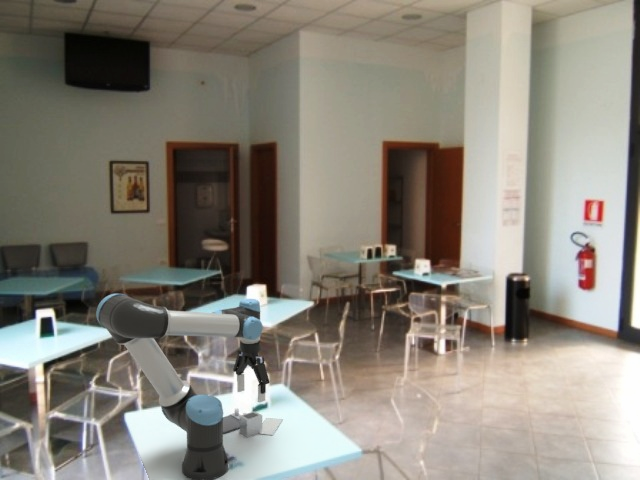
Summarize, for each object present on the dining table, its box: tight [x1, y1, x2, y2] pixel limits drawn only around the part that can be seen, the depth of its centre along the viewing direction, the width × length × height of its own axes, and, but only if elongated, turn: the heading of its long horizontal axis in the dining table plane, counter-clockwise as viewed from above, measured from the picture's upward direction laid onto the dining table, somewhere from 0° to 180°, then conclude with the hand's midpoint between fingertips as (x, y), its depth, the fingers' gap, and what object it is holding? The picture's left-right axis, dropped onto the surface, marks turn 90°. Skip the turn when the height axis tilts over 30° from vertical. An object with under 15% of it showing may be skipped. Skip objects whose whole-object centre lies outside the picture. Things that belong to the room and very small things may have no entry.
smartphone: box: [258, 417, 283, 437], centre depth 226 cm, size 7×1×15 cm
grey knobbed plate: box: [223, 408, 247, 435], centre depth 227 cm, size 16×12×4 cm
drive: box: [238, 411, 263, 439], centre depth 219 cm, size 7×5×7 cm
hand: (251, 396), depth 218 cm, fingers open, 13 cm apart
